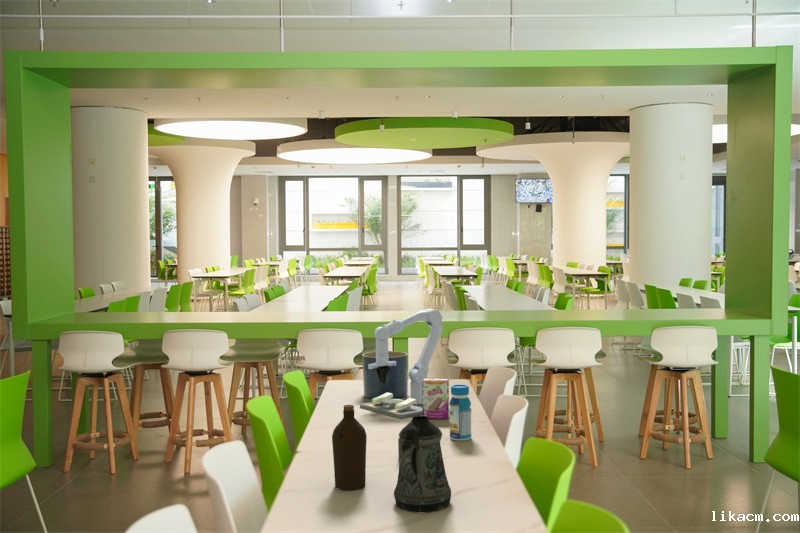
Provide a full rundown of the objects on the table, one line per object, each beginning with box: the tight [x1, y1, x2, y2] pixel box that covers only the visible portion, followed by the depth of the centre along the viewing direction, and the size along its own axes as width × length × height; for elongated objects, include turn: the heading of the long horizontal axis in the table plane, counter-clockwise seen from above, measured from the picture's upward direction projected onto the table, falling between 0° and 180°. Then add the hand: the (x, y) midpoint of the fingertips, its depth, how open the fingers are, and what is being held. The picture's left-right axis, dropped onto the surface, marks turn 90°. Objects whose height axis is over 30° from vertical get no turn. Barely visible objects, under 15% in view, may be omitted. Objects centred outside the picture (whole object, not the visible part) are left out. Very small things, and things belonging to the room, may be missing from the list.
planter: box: [361, 350, 409, 400], centre depth 381 cm, size 22×22×20 cm
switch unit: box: [359, 401, 423, 420], centre depth 348 cm, size 16×30×3 cm, turn 38°
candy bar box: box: [422, 378, 450, 420], centre depth 331 cm, size 11×5×16 cm, turn 84°
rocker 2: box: [383, 398, 405, 404], centre depth 348 cm, size 9×4×2 cm, turn 128°
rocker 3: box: [395, 397, 417, 410], centre depth 341 cm, size 9×4×2 cm, turn 128°
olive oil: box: [331, 404, 368, 491], centre depth 241 cm, size 11×11×25 cm
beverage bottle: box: [449, 384, 472, 442], centre depth 297 cm, size 8×8×20 cm
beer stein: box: [393, 415, 452, 513], centre depth 223 cm, size 16×19×25 cm
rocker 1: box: [371, 392, 393, 404], centre depth 354 cm, size 9×4×2 cm, turn 128°
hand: (382, 382), depth 357 cm, fingers closed
